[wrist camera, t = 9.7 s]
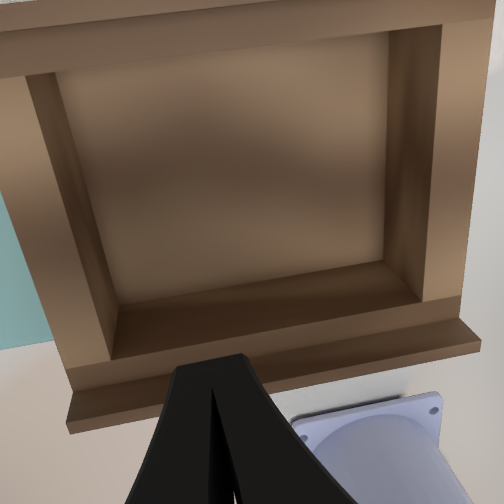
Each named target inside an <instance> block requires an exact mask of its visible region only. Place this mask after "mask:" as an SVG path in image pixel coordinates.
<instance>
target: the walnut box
mask: <svg viewBox="0 0 504 504" xmlns="http://www.w3.org/2000/svg"><path fill="white" fill-rule="evenodd" d="M495 4H496V0H37V1H28V2H18V3H9V4H0V192H1V195H2V197H3V200H4V203H5V206H6V208H7V211H8V214H9V217H10V219H11V222H12V225H13V228H14V230H15V233H16V236H17V239H18V241H19V244H20V247H21V250H22V252H23V255H24V258H25V261H26V263H27V266H28V269H29V272H30V274H31V277H32V280H33V283H34V286H35V288H36V291H37V294H38V297H39V299H40V302H41V305H42V308H43V310H44V313H45V316H46V319H47V321H48V324H49V327H50V330H51V332H52V335H53V338H54V341H55V343H56V346H57V349H58V352H59V354H60V357H61V360H62V363H63V365H64V368H65V371H66V373H67V376H68V379H69V382H70V385H71V387H72V390H73V395H72V399H71V403H70V407H69V411H68V416H67V420H66V425H67V428H68V430H69V433H70V434H75V433H80V432H85V431H90V430H95V429H100V428H104V427H110V426H115V425H120V424H124V423H130V422H134V421H139V420H144V419H149V418H154V417H159V416H160V414H161V411H162V408H163V405H164V402H165V399H166V395H167V392H168V388H169V384H170V380H171V375H172V372H173V370H174V369H175V368H176V367H177V366H180V365H185V364H190V363H195V362H199V361H204V360H209V359H214V358H219V357H224V356H229V355H234V354H239V353H242V354H244V355H246V356H247V357H248V358H249V361H250V363H251V365H252V367H253V369H254V371H255V373H256V375H257V377H258V379H259V380H260V382H261V384H262V385H263V387H264V388H265V390H266V391H267V393H268V394H273V393H278V392H283V391H288V390H293V389H298V388H303V387H308V386H313V385H318V384H323V383H327V382H332V381H337V380H342V379H347V378H352V377H357V376H362V375H367V374H372V373H377V372H382V371H387V370H392V369H397V368H402V367H407V366H412V365H417V364H422V363H426V362H431V361H436V360H441V359H446V358H451V357H456V356H461V355H466V354H471V353H476V352H480V347H481V339H480V338H479V337H478V336H477V335H476V334H475V333H474V332H473V331H472V330H471V329H470V328H469V327H468V326H467V325H466V324H465V323H464V322H463V321H462V320H461V319H460V318H459V312H460V304H461V295H462V287H463V278H464V269H465V261H466V253H467V244H468V236H469V227H470V218H471V210H472V201H473V192H474V184H475V176H476V166H477V158H478V150H479V141H480V133H481V124H482V115H483V107H484V98H485V90H486V81H487V73H488V64H489V55H490V47H491V38H492V30H493V21H494V13H495Z"/></svg>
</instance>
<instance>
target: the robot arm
mask: <svg viewBox="0 0 504 504" xmlns="http://www.w3.org/2000/svg"><path fill="white" fill-rule="evenodd" d="M442 408H443V398H442V397H441V395H440V394H439V393H438V392H428V393H423V394H418V395H413V396H409V397H404V398H399V399H394V400H390V401H385V402H380V403H375V404H370V405H366V406H361V407H356V408H351V409H347V410H342V411H337V412H332V413H327V414H323V415H318V416H313V417H308V418H303V419H299V420H297V421H295V422H294V423H293V424H292V426H291V425H290V424H289V423H288V421H287V420H286V419H285V417H284V416H283V415H282V413H281V412H280V411H279V409H278V408H277V406H276V405H275V404H274V402H273V401H272V399H271V398H270V396H269V395H268V393H267V391H266V390H265V388H264V387H263V385H262V384H261V382H260V380H259V379H258V377H257V375H256V373H255V371H254V369H253V367H252V365H251V363H250V361H249V358H248V357H247V356H246V355H244V354H242V353H239V354H234V355H229V356H224V357H219V358H214V359H209V360H204V361H199V362H195V363H190V364H185V365H180V366H177V367H176V368H175V369H174V370H173V372H172V375H171V380H170V384H169V388H168V392H167V395H166V399H165V402H164V405H163V408H162V411H161V414H160V417H159V420H158V423H157V426H156V429H155V432H154V435H153V438H152V440H151V442H150V445H149V447H148V450H147V453H146V455H145V458H144V460H143V463H142V466H141V468H140V470H139V473H138V475H137V477H136V479H135V482H134V484H133V486H132V488H131V491H130V493H129V495H128V497H127V499H126V502H125V504H234V494H235V498H236V502H237V504H474V503H473V502H472V500H471V499H470V497H469V496H468V494H467V493H466V491H465V489H464V488H463V486H462V485H461V483H460V482H459V480H458V479H457V477H456V476H455V474H454V472H453V471H452V469H451V468H450V466H449V465H448V463H447V461H446V460H445V458H444V457H443V455H442V454H441V452H440V451H439V449H438V445H439V436H440V426H441V417H442ZM302 435H304V436H302ZM300 436H301V437H300Z"/></svg>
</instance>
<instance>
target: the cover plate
mask: <svg viewBox="0 0 504 504" xmlns="http://www.w3.org/2000/svg"><path fill="white" fill-rule="evenodd" d="M52 340H54V338H53V335H52V332H51V330H50V327H49V324H48V321H47V319H46V316H45V313H44V310H43V308H42V305H41V302H40V299H39V297H38V294H37V291H36V288H35V286H34V283H33V280H32V277H31V274H30V272H29V269H28V266H27V263H26V261H25V258H24V255H23V252H22V250H21V247H20V244H19V241H18V239H17V236H16V233H15V230H14V228H13V225H12V222H11V219H10V217H9V214H8V211H7V208H6V206H5V203H4V200H3V197H2V195H1V192H0V350H3V349H9V348H14V347H20V346H25V345H30V344H36V343H42V342H47V341H52Z"/></svg>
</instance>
